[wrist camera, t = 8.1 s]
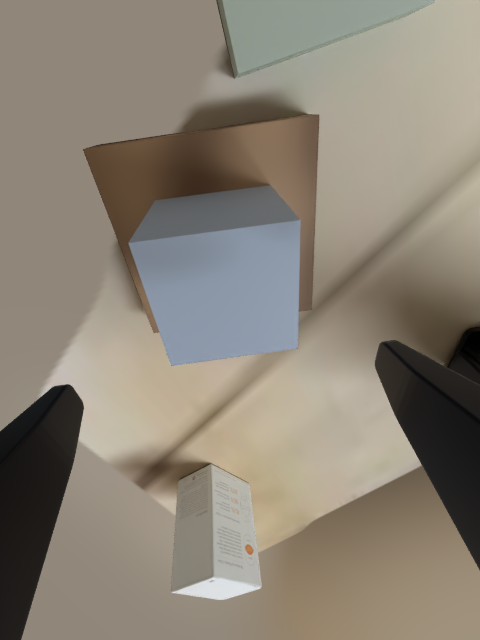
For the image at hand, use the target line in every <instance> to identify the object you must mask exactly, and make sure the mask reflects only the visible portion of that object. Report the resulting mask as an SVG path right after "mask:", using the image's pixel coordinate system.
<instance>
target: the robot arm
mask: <svg viewBox="0 0 480 640" xmlns="http://www.w3.org/2000/svg"><path fill="white" fill-rule="evenodd" d="M375 368H376V371H377V373H378V376H379V378H380V381H381V383H382V385H383V388H384V390H385V393H386V395H387V397H388V400H389V402H390V405H391V407H392V409H393V412H394V414H395V416H396V418H397V420H398V422H399V424H400V426H401V428H402V429H403V431H404V433H405V435H406V437H407V438H408V440H409V442H410V444H411V446H412V448H413V449H414V451H415V453H416V455H417V457H418V458H419V460H420V462H421V464H422V466H423V467H424V469H425V471H426V473H427V475H428V477H429V478H430V480H431V482H432V484H433V485H434V488H435V489H436V491H437V493H438V495H439V497H440V499H441V500H442V502H443V504H444V506H445V508H446V509H447V511H448V513H449V515H450V517H451V519H452V520H453V522H454V524H455V526H456V528H457V530H458V531H459V533H460V535H461V537H462V539H463V541H464V542H465V544H466V546H467V548H468V550H469V551H470V553H471V555H472V557H473V559H474V560H475V562H476V564H477V566H478V568H479V570H480V328H473V329H469V330H467V331H466V332H465V333H464V335H463V337H462V339H461V341H460V344H459V346H458V348H457V350H456V352H455V354H454V356H453V358H452V360H451V362H450V364H449V366H448V368H447V367H445V366H443V365H441V364H440V363H438V362H436V361H434V360H432V359H430V358H428V357H427V356H425V355H423V354H421V353H419V352H417V351H415V350H414V349H412V348H410V347H408V346H406V345H404V344H402V343H401V342H399V341H396V340H391V341H384V342H381V343H380V345H379V348H378V352H377V356H376V360H375ZM83 410H84V405H83V402H82V400H81V399H80V397H79V396H78V394H77V393H76V391H75V390H74V388H73V387H72V386H71V385H69V384H66V385H58V386H54V387H52V388H51V389H50V390H49V391H47V392H46V393H45V394H44V395H43V396H42V397H40V398H39V399H38V400H37V401H36V402H34V403H33V404H32V405H31V406H30V407H29V408H27V409H26V410H25V411H24V412H23V413H21V414H20V415H19V416H18V417H17V418H16V419H14V420H13V421H12V422H11V423H10V424H8V425H7V426H6V427H5V428H4V429H3V430H1V431H0V640H21V638H22V635H23V631H24V628H25V625H26V621H27V618H28V614H29V611H30V608H31V605H32V601H33V598H34V594H35V591H36V588H37V584H38V581H39V577H40V574H41V571H42V567H43V564H44V561H45V557H46V554H47V551H48V547H49V544H50V541H51V537H52V534H53V530H54V527H55V523H56V520H57V517H58V514H59V510H60V507H61V503H62V500H63V497H64V493H65V490H66V486H67V483H68V480H69V476H70V473H71V470H72V466H73V462H74V458H75V453H76V448H77V443H78V437H79V432H80V427H81V421H82V416H83Z"/></svg>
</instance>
